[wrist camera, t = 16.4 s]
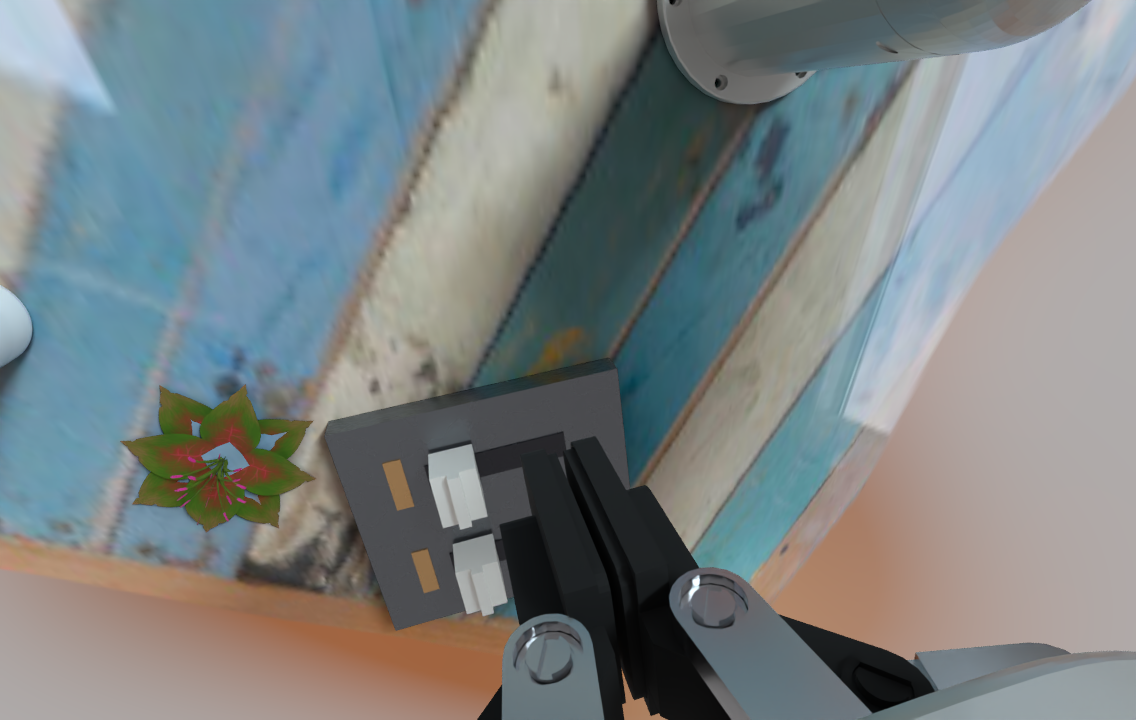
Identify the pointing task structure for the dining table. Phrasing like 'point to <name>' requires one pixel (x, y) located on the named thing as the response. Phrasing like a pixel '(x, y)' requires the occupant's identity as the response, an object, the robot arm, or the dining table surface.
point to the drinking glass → (13, 327)
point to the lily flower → (218, 460)
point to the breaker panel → (498, 436)
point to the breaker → (457, 486)
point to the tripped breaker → (479, 574)
